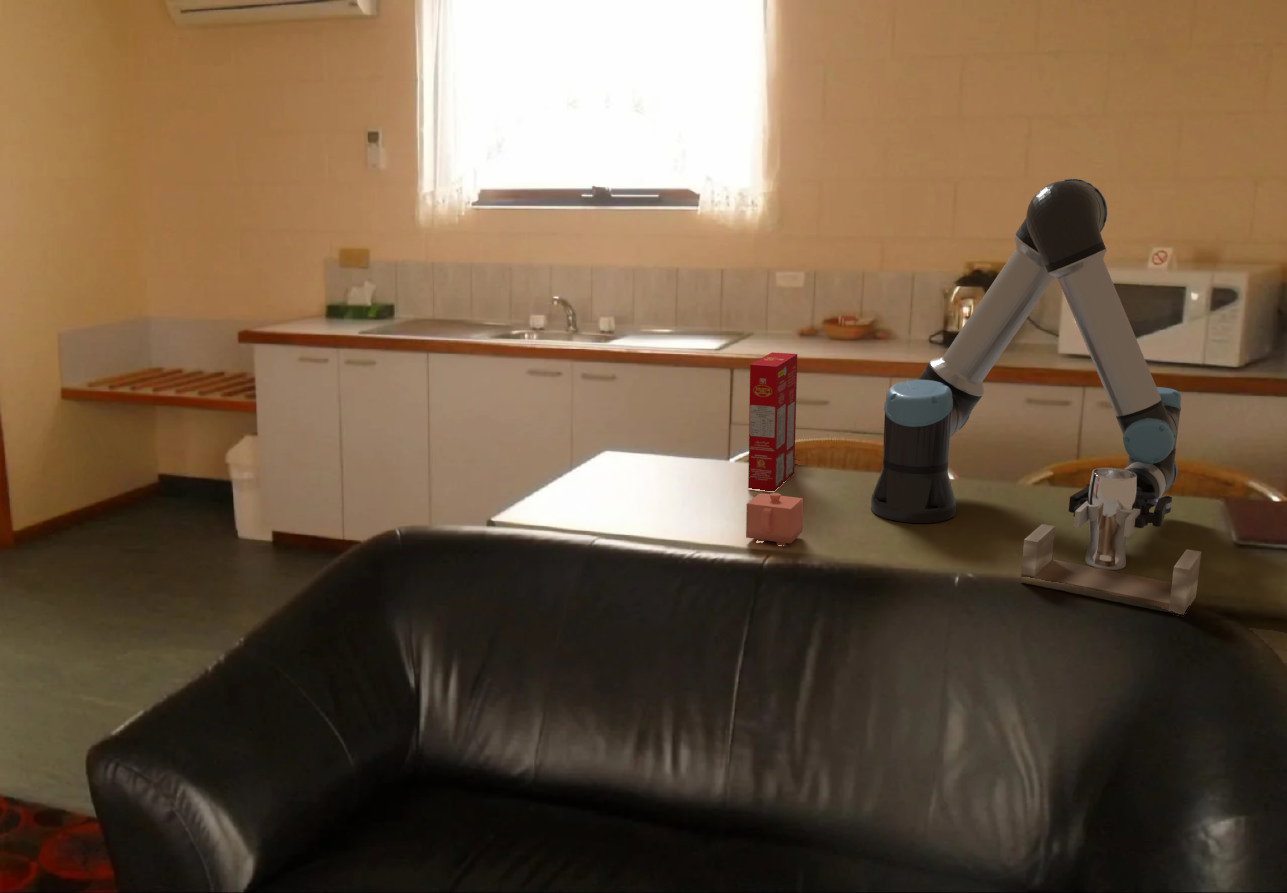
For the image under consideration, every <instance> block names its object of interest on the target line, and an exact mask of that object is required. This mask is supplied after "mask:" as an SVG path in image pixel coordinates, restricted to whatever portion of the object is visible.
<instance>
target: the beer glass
mask: <svg viewBox="0 0 1287 893" xmlns="http://www.w3.org/2000/svg"><path fill="white" fill-rule="evenodd" d="M1089 484H1090V487H1089V494H1088V518H1089V519H1088V526H1089V542H1088V548H1087V551H1086V555H1085V558H1084V560H1085V563H1086V564H1087V566H1089V567H1094V568H1099V569H1105V570H1110V571H1117V570H1121V569H1124V568H1126V566H1127V557H1126V544H1127V538H1128V537H1126V536H1124V528H1125V519H1126V518H1127V517H1128V516H1129V515H1130V514H1131V513H1132V512H1133V511H1134V510H1135V504H1136V490H1137V474H1136V473H1134V472H1132V471H1129V470H1125V468H1119V467H1099V468H1098V467H1097V468H1094V469H1092V471H1091V477H1090V483H1089Z"/></svg>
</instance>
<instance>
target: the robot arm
mask: <svg viewBox="0 0 1287 893" xmlns="http://www.w3.org/2000/svg"><path fill="white" fill-rule="evenodd" d="M1025 215H1026V216H1025V219H1024V221H1023V222H1022V223H1021V225H1020V226H1019V228H1018V230H1017V231H1016V233H1014V240H1015V246H1016V248H1015V249H1014V251H1013V252H1012V254H1011V255H1010V256H1009V257H1008V260H1007V262H1006V263H1005V264H1004V265H1003V267H1002V268H1001V270H1000V272H999V273H998V274H997V276H996V278H994V281H993V282H992V284H991V285H990V286H989V288H988V289H987V291H986V292H985V294H984V295H983V297H982V298H981V299H980V301H979V302H978V304H977V305H976V307H975V308H974V310H973V311H972V313H971V315H970V316H969V317H968V319H967V320H966V321H965V323H964V325H963V326H962V327H961V330H960V331H959V332H958V334H957V335H956V337H955V338H954V340H953V341H952V343H951V344H950V346H949V347H948V348H947V350H946V351H945V353H944V354H943V356H941V357H935V358H931V360H929V362H928V363H927V365H926V367H925V368H924V370H922V373H921V374H920V375H919V377H918V379H909V380H906V381H900V382H897V383H895V384H893V385H891V387H889V388H888V390H887V392H886V396H885V401H884V404H883V406H884V407H883V408H884V409H883V410H884V421H883V422H884V423H883V424H884V425H883V427H884V428H883V445H882V446H883V448H882V449H883V451H882V468H881V471H880V475H879V477H878V479H877V482H876V484H875V487H874V490H873V493H872V494H871V498H870V499H871V500H870V510H871V512H872V513H873V514H875V515H877V516H879V517H882V518H883V519H887V520H891V521H896V522H902V523H912V524H932V523H939V522H940V523H941V522H945V521H947V520H950V519H953V517H955V516H956V508H957V500H956V498H955V494H954V491H953V487H952V482H951V480H950V474H949V461H950V460H949V458H950V457H949V456H950V442H951V438H952V436H953V435H955V434H956V433H957V432H959V431H960V430H962V428H964V426H965V425H966V423H967V422H968V421H969V419H970V416H971V414H972V412H973V410H974V409H975V407H976V405H977V404H978V403H979V401H980V400H981V399H982V397H983V396H984V394H985V390H984V385H983V381H984V380H985V378H986V377H987V376H988V374H989V373H990V371H991V369H992V368H993V367H994V366H995V364H996V363H997V361H998V360H999V358H1000V357H1001V356H1002V354H1003V352H1004V351H1005V350H1006V348H1007V347H1008V345H1009V344H1010V342H1012V340H1013V339H1014V337H1015V336H1016V334H1017V333H1018V331H1019V330H1020V329H1021V327H1022V326H1023V325H1024V323H1025V322H1026V320H1027V319H1028V317H1029V316H1030V314H1031V313H1032V311H1033V310H1034V308H1035V307H1037V304H1038V303H1039V301H1041V299H1042V297H1043V296H1044V294H1045V293H1046V291H1048V288H1050V286H1051V284H1052V283H1053V282H1054V280H1055V279H1057V280H1058V282H1059V285H1060V287H1061V289H1062V293H1063V295H1064V297H1065V299H1066V301H1067V304H1068V307H1069V309H1070V311H1071V313H1072V315H1073V318H1074V321H1075V322H1076V325H1077V328H1078V330H1079V332H1080V335H1081V337H1082V339H1083V342H1084V343H1085V346H1086V348H1087V351H1088V353H1089V356H1090V358H1091V361H1092V363H1093V365H1094V367H1095V368H1094V369H1095V371H1096V373H1097V375H1098V378H1099V379H1100V382H1101V384H1102V386H1103V389H1104V391H1105V393H1106V395H1107V399H1108V401H1109V403H1110V405H1111V408H1112V410H1113V412H1114V414H1115V417H1116V418H1115V419H1116V420H1117V424H1118V426H1119V428H1120V430H1121V433H1122V435H1123V436H1122V439H1123V440H1122V441H1123V442H1122V443H1123V447H1124V449H1125V452H1126V454H1127V455H1128V457H1127V458H1128V460H1127V466H1125V468H1124V469H1125V470H1129V471H1132V472H1134V473H1136V474H1137V490H1136V504H1135V510H1134V511H1133V512H1132V513H1131V514H1130V515H1129V516H1128V517H1127V518H1126V519H1125V528H1124V536H1126V537H1127V538H1129V537H1130V536H1131V535H1133V533H1134V532H1135V531H1136V530H1137V529H1144V527H1145V526H1148V524H1152V526H1154V527H1156V528H1159V527H1162V524H1163V522H1164V520H1165V519H1164V518H1165V516H1166V514H1168V513H1169V514H1170V513H1171V510H1172V502H1173V497H1172V496H1170V495H1164V493H1166V492H1167V491H1169V489H1170V488H1171V487H1172V486H1173V484H1174V483H1175V482H1176V478H1177V476H1178V471H1179V470H1178V464H1177V462H1176V452H1177V448H1176V446H1177V439H1178V433H1179V432H1178V431H1179V426H1180V416H1181V410H1182V406H1181V404H1182V402H1181V401H1182V394H1181V393H1180V392H1179V391H1178V390H1176V389H1173V388H1170V387H1164V386H1163V387H1161V386H1157V385H1156V383H1155V381H1154V378H1153V376H1152V373H1151V371H1150V369H1149V366H1148V364H1147V361H1146V358H1145V356H1144V354H1143V352H1142V349H1141V347H1140V345H1139V343H1138V340H1137V337H1136V335H1135V333H1134V330H1133V328H1132V324H1131V322H1130V320H1129V318H1128V316H1127V313H1126V310H1125V308H1124V305H1123V304H1122V301H1121V298H1120V297H1119V294H1118V292H1117V290H1116V287H1115V285H1114V282H1113V279H1112V278H1111V274H1110V272H1109V270H1108V268H1107V265H1106V262H1105V260H1104V257H1105V255H1106V253H1107V252H1108V249H1107V247H1106V245H1105V243H1104V240H1103V237H1102V234H1101V232H1102V231H1103V229H1104V228H1105V225H1106V222H1107V219H1108V207H1107V201H1106V200H1105V196H1103V194H1102V192H1101V191H1100V190H1099V189H1098V188H1097V187H1095V186H1094V185H1093V184H1092V183H1090V182H1087V181H1086V180H1083V179H1080V178H1079V179H1078V178H1068V179H1067V178H1066V179H1064V180H1060V181H1055V182H1052V183H1050V184H1048V185H1046V186H1043V187H1042V188H1041V189H1040V190H1038V192H1036V193H1035V194H1034V196H1033V197H1032V198H1031V199H1030V202H1029V204H1028V206H1027V210H1026V214H1025ZM1089 487H1090V483H1087V484H1086V485H1085V487H1084V488H1083V489H1081V490H1079V491H1077V492H1076V493H1074V494H1072V495H1070V496H1069V500H1068V502H1069V504H1068V512H1069V513H1072V514H1073V517H1074V521H1073V522H1074V523H1073V528H1075V529H1080V528H1081V527H1082V526H1084V524H1085V523H1086V522H1087V521H1089V518H1088V494H1089ZM1163 495H1164V496H1163ZM1153 507H1154V509H1153V512H1152V511H1151V512H1150V510H1151V508H1153Z"/></svg>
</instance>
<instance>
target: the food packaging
mask: <svg viewBox="0 0 1287 893" xmlns="http://www.w3.org/2000/svg"><path fill="white" fill-rule="evenodd" d="M797 378H798V353H788V352H787V353H786V352H770V353H768V354H767V355H765V356H763V357H761V358H759V359H758V360H756V361H754V362H752V363H750V364H749V405H748V406H749V414H748V416H749V419H748V420H749V423H748V426H749V427H748V476H747V477H748V482H747V483H748V486H747V488H752V489H760V490H765V491H775V490H776V489H777V488H778V487H780V486H781V485H782V484H783V482H785V481H786V480H787V479H788V478H789V477H791V476H792V475H793V474H794V475H795V465H796V463H795V462H796V431H797V430H796V425H797V424H796V423H797V421H796V420H797V391H798V390H797V389H798V388H797V384H798V383H797V382H798V381H797V380H798V379H797ZM794 475H793V476H794ZM793 476H792V477H793ZM792 477H791V478H792ZM787 481H788V480H787ZM787 481H786V482H787ZM786 482H785V483H786ZM783 485H784V484H783ZM783 485H782V486H783ZM782 486H781V487H782ZM781 487H780V488H781Z"/></svg>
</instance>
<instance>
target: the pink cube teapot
mask: <svg viewBox="0 0 1287 893" xmlns="http://www.w3.org/2000/svg"><path fill="white" fill-rule="evenodd" d="M803 510H804V498H803V497H794V496H786V495H781V494H780V493H778V492H775V493H770V494H769V493H763V492H760V493H758V494H757V495H756V496H754V497H753V498H752V499H750V500H749V502H747V503H746V516H745V517H746V519H745V521H746V524H745V525H746V526H745V530H746V531H745V538H747V539H753V540H758V541H764V540H765V541H768V542H775V543H776V545H777V544H778V545H782V546H783V545H787V544H792V543H793V542H794V541H795V540H796V539H797V538H798V536H800V535H801V534H802V533H803V514H804V512H803ZM765 541H764V542H765Z"/></svg>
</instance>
